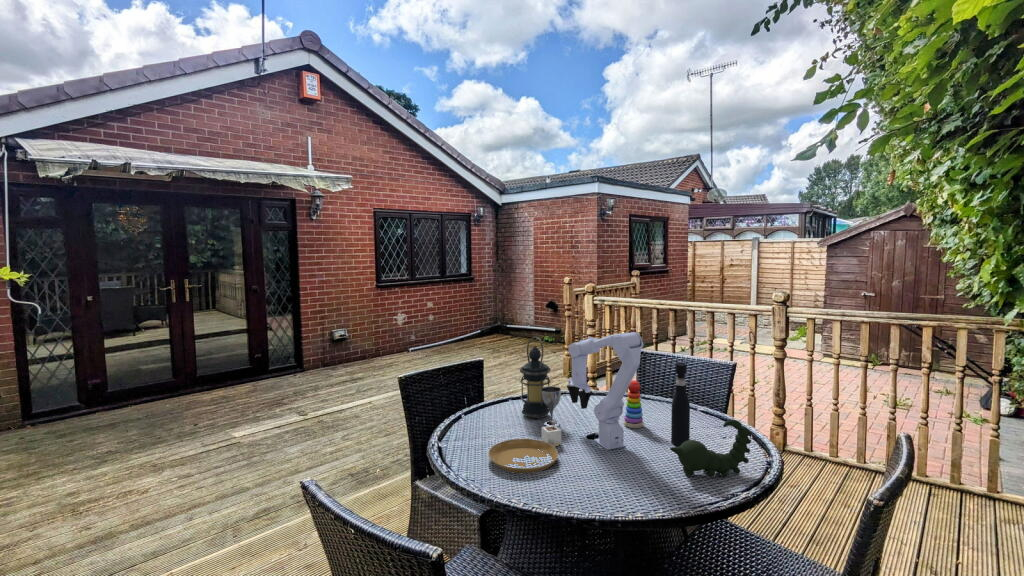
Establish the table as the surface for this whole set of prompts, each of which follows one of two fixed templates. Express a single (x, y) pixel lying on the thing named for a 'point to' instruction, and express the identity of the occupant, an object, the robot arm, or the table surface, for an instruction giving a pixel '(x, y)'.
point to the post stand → (554, 444)
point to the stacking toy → (633, 407)
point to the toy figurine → (714, 454)
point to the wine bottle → (680, 409)
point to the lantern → (534, 383)
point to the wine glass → (551, 399)
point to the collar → (551, 435)
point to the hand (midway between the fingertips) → (579, 405)
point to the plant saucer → (521, 454)
